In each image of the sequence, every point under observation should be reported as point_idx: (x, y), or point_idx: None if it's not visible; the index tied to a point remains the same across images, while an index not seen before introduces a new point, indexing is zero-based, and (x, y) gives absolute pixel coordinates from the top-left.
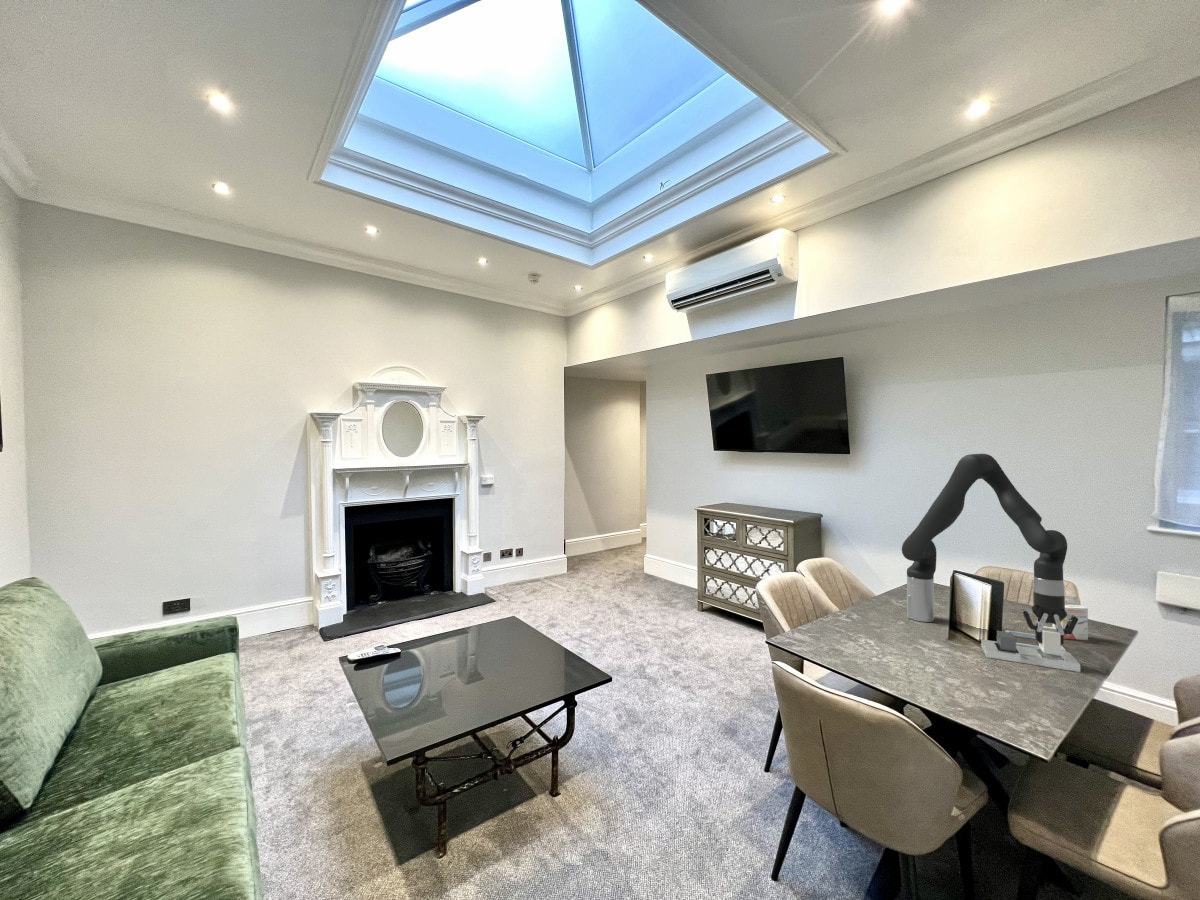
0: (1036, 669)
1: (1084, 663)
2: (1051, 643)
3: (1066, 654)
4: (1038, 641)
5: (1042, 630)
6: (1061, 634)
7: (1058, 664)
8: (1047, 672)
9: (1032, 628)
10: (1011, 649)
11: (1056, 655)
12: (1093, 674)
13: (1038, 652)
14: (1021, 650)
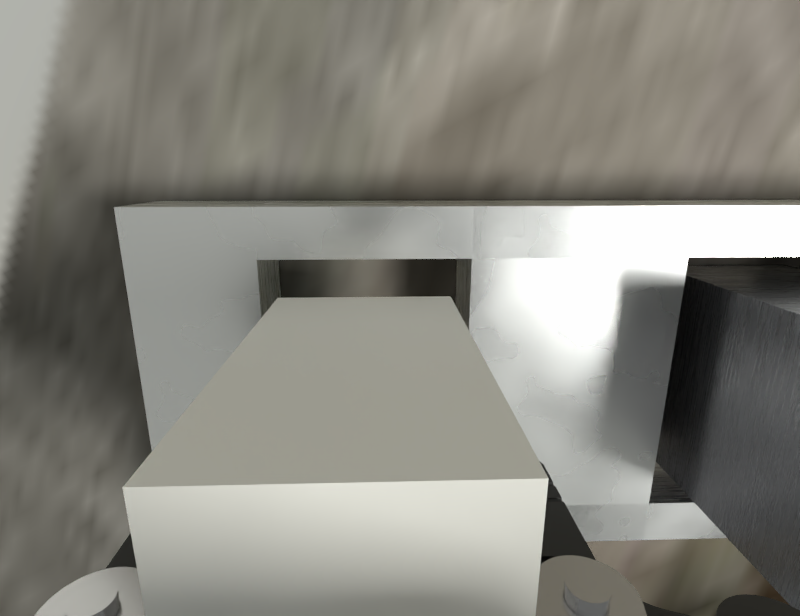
0: (550, 63)
1: (95, 468)
2: (368, 346)
3: None
4: None
5: (531, 584)
6: (119, 583)
7: (329, 204)
8: (466, 21)
9: (754, 612)
10: (776, 288)
11: None
12: (56, 203)
13: None
14: (628, 375)
